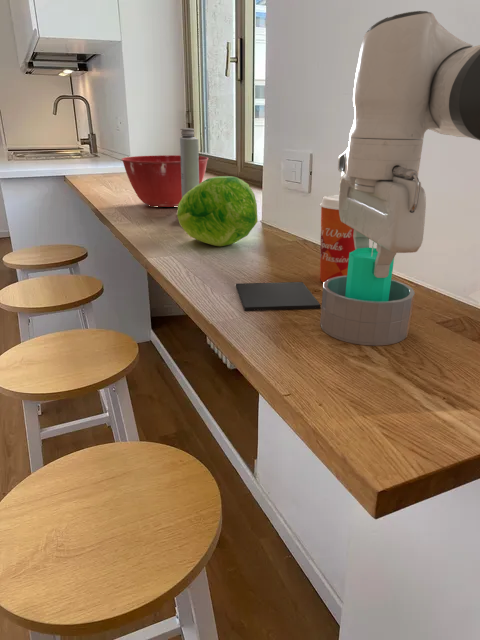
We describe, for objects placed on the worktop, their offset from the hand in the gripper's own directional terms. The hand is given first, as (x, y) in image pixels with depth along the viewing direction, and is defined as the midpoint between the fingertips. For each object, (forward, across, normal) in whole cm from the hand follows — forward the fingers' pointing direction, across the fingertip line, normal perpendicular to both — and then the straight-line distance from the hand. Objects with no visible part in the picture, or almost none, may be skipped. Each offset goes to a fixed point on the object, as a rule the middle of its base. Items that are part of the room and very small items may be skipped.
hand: (370, 269), depth 67 cm
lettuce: (+9, +52, +17) cm, 55 cm away
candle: (+8, 0, 0) cm, 8 cm away
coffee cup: (+9, +22, -3) cm, 24 cm away
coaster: (+9, +14, +10) cm, 19 cm away
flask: (+9, +81, +22) cm, 84 cm away
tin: (+9, 0, 0) cm, 9 cm away
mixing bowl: (+9, +110, +29) cm, 114 cm away
